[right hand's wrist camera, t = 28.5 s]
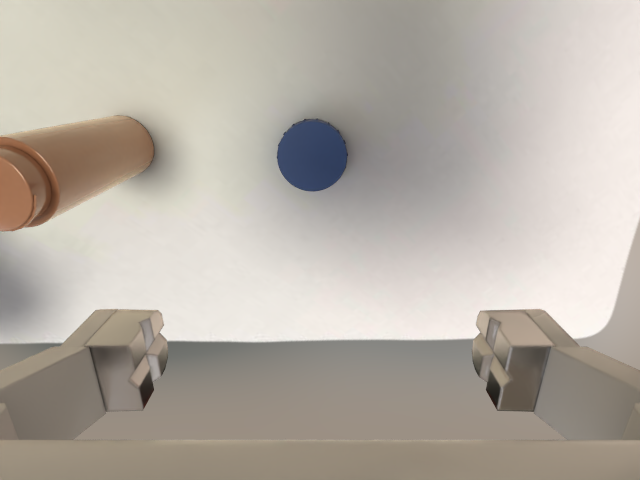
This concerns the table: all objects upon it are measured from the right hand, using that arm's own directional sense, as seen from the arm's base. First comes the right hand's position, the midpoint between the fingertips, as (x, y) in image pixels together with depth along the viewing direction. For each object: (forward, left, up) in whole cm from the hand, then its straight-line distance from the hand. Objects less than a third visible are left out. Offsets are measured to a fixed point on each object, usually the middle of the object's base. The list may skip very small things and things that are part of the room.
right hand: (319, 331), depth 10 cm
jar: (+13, -11, -26) cm, 31 cm away
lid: (0, -1, -25) cm, 25 cm away
